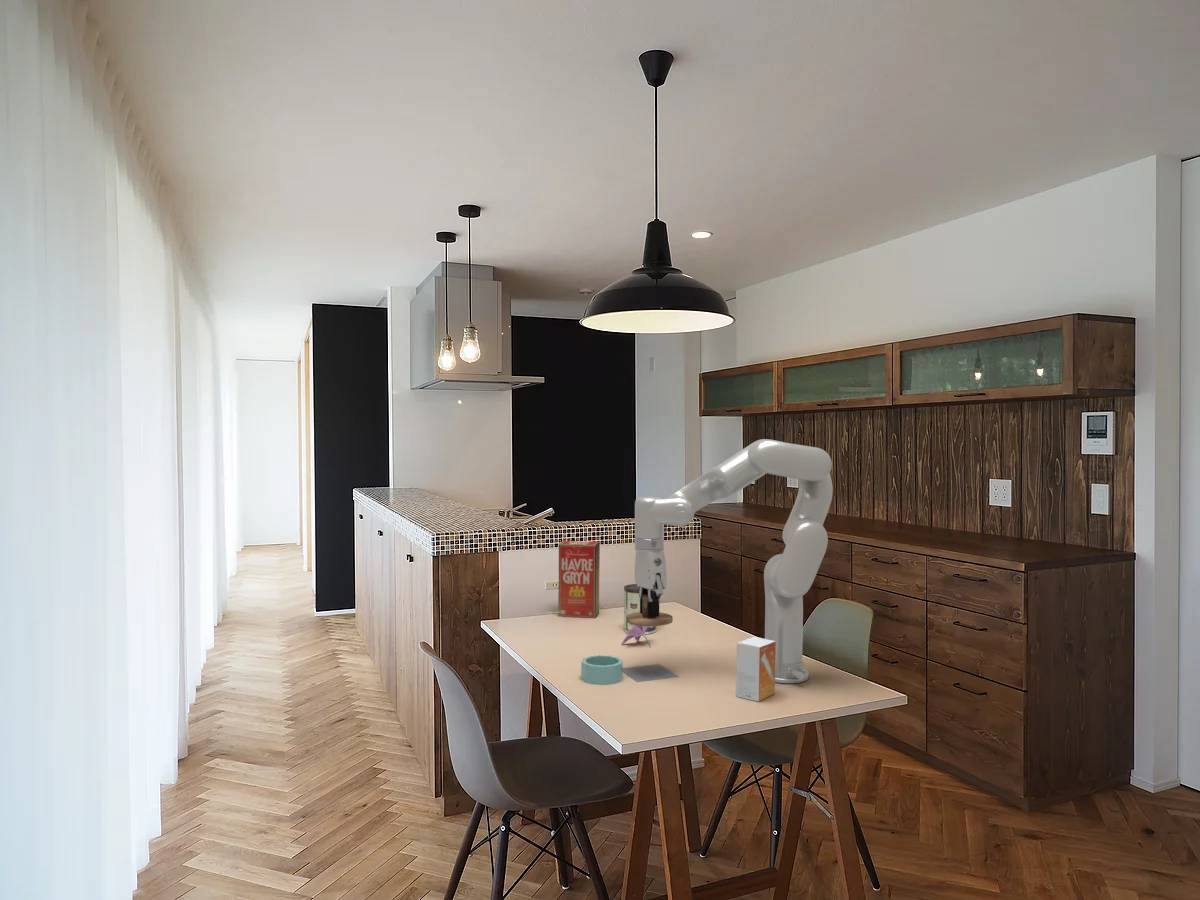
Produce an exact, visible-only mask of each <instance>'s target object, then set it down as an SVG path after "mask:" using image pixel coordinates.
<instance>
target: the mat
mask: <svg viewBox="0 0 1200 900" xmlns="http://www.w3.org/2000/svg"><path fill="white" fill-rule="evenodd" d="M623 674H624V675H626V676H627V677H629V678H630V679H632V680H633V681H635V682H637V683H639V682H640V683H641V682H649V681H656V680H657V681H658V680H666V679H672V678H673V679H674V678H679V677H680V676H679V675H678V674H676V673H674V672H672V671H671V670H669V669H668V668H666V667H664V666H663V665H661V664H659V663H656V664H654V663H653V664H648V665H647V664H646V665H637V666H628V667H623Z"/></svg>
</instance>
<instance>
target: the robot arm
mask: <svg viewBox="0 0 1200 900" xmlns="http://www.w3.org/2000/svg"><path fill="white" fill-rule="evenodd" d="M832 464H833V462H832V458H831V456H830V455H829V453H828V452H827V451H825V450H824V449H823V448H820V447H815V446H809V445H802V444H796V443H790V442H784V441H781V440H774V439H767V438H762V439H758V440H755V441H753V442H752V443H750V444H749V445H747V446H746V447H744V448H742V449H741V450H739V451H738V452H736V453H735V454H734V455H732V456H730V457H729V458H727V459H726V460H724V461H723V462H721V463H720V464H718V465H716V466H714V467H713V468H710V469H709V470H708V471H706V472H705V473H704V474H702V475H701V476H699V477H696V479H694V480H693V481H690V482H689V483H687V484H686V485H684V486H683V487H682V488H680V489H678V490H677V491H675V492H673V493H672V494H671V495H670V496H668V497H667V498H662V497H660V496H651V495H650V496H640V497H637V498H636V499H635V501H634V551H636V552H635V560H634V581H635V584H637V586H638V588H639V589H638V590H639V597H640V613H641V614H642V595H646V594H648V598H649V601H648V602H647V616H648V617H658V616H659V612H660V601H661V596H662V595H663V594H664V590H666V588H667V585H668V584H667V583H668V582H667V580H668V579H667V563H666V555H665V552H664V550H665V526H666V525H667V526H674V527H675V526H676V527H683V526H687V525H689V524H690V523H691V522H692V521H693V520H694V517H695V514H696V513H697V512H698V511H699V510H701V509H703V508H705V507H706V506H707V505H709V504H712V503H713V502H716V501H718V500H721V499H725V498H729V497H731V496H733V495H736V494H737V493H738V492H740V491H742V490H743V489H745V488H746V487H748V486H749V485H751V484H752V483H753V482H755V481H757V480H758V479H760V478H761V477H763V476H765V475H766V474H769V475H774V476H780V477H784V478H789V479H790V478H791V479H797V482H798V492H797V496H796V499H795V502H794V504H793V507H792V509H791V511H790V514H789V517H787V518H788V519H787V520H786V523H785V525H784V528H783V530H782V536H781V537H782V541H783V542H784V544H785V548H784V549H783V552H782V553H779V554H776V555H774V556H772V557H771V558H770V559H769V560H767V563H766V564H765V565H764V566H765V567H764V571H763V581H764V597H765V598H764V602H765V605H764V606H765V607H764V608H765V610H764V639H768V640H773V641H776V653H775V683H779V684H799V683H803V682H805V681H807V680H808V679H809V674H810V672H809V671H808V670H806V669H805V663H804V662H803V645H804V644H803V639H804V638H803V637H804V635H803V634H804V633H803V631H804V629H803V625H804V624H803V623H804V602H803V601H804V598H803V596H804V595H805V594H806V593H807V592H808V591H809V590H810V588H811V587H812V585H813V583H814V580H815V578H816V576H817V573H818V572H819V571H818V570H819V569H820V566H821V564H822V561H823V559H824V557H825V554H826V552H827V548H828V542H829V541H828V540H829V538H828V532H827V530H826V529H825V527H824V523H825V520H826V517H827V516H828V512H829V510H830V506H831V504H832V501H833V491H834V490H833V489H834V488H833V487H834V486H833V481H832V476H831V471H832V466H833V465H832ZM653 587H656V589H653ZM652 592H654V593H653V595H652Z"/></svg>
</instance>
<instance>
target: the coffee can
mask: <svg viewBox="0 0 1200 900" xmlns="http://www.w3.org/2000/svg"><path fill="white" fill-rule="evenodd" d="M638 589H639V588H638V586H637V584H636V583H633V584H632V583H629V584H626V585H624V586H623V590H624V594H623V595H624V598H623V599H624V600H623V602H624V603H623V604H624V606H623V608H624V609H623V612H624V614H623V615H624V620H623V621H624V622H623V623H624V625H623V626H624V627H623V631H624V633H626V632H627V631H628V630H630V629H632V628H634V625H633V624H630V623H628V622H627V621H626V616H627V615H628V614H631V613H636V612H640V597H639V590H638ZM653 589H656V587H653ZM653 593H654V592H652V594H653ZM656 631H657V626H651V627H649V628H647V629H646V631H645V635H651V634H654V633H656Z"/></svg>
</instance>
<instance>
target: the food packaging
mask: <svg viewBox="0 0 1200 900" xmlns="http://www.w3.org/2000/svg"><path fill="white" fill-rule="evenodd" d="M600 548H601V547H600V541H585V540H584V541H579V540H578V541H577V540H562V542H561V543H559V544H558V602H557V603H558V605H557V606H558V609H557V610H558V616H557V617H559V616H562V617H563V618H583V619H587V618H589V619H596V618H597V617H598V615H599V614H600V559H601V558H600V555H601V554H600V552H601V550H600ZM562 617H561V618H562Z"/></svg>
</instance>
